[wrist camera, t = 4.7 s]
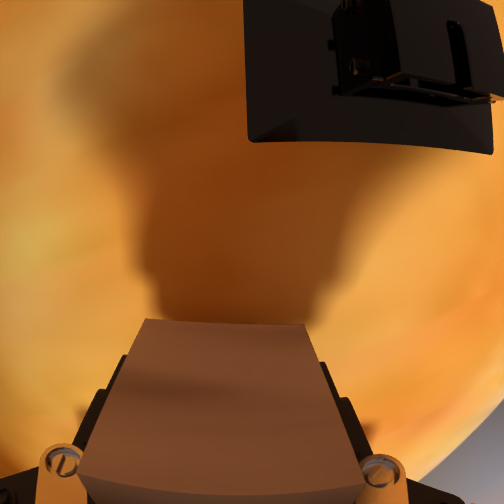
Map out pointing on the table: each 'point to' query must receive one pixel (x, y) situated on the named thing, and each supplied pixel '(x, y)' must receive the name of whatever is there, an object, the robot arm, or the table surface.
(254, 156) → the table surface
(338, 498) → the brown wooden block
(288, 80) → the black piece
